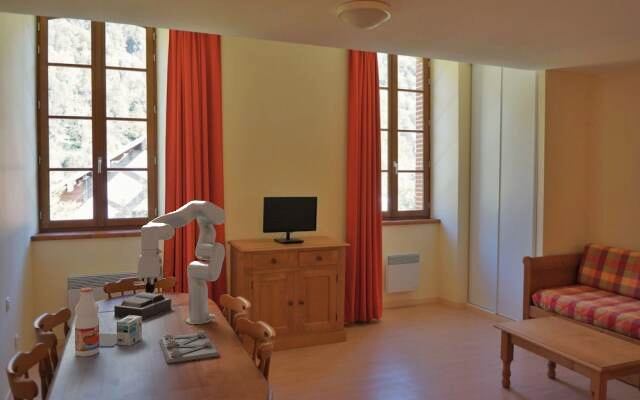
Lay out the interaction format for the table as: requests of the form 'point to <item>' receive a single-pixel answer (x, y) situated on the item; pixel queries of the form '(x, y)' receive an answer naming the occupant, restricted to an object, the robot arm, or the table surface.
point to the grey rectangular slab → (187, 347)
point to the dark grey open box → (143, 305)
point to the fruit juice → (86, 324)
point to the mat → (107, 340)
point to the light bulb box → (129, 330)
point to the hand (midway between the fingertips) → (150, 292)
